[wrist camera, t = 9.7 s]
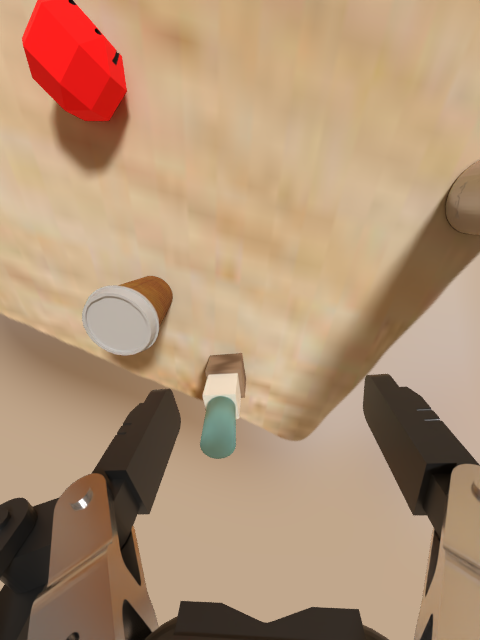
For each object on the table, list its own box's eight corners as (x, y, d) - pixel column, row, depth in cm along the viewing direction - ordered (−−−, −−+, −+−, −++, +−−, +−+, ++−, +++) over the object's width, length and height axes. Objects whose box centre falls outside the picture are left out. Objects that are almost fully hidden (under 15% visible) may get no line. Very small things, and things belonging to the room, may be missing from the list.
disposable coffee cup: (159, 329, 43) (127, 370, 33) (115, 293, 41) (64, 324, 30) (193, 295, 40) (170, 327, 29) (147, 253, 38) (103, 271, 27)
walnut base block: (242, 353, 45) (240, 369, 40) (245, 379, 47) (244, 397, 42) (210, 355, 45) (205, 371, 41) (215, 381, 48) (211, 399, 43)
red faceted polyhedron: (144, 82, 29) (110, 43, 22) (109, 140, 32) (68, 121, 25) (87, 16, 27) (29, -49, 20) (54, 84, 30) (-7, 46, 23)
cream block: (237, 373, 40) (235, 394, 36) (240, 396, 42) (239, 418, 38) (208, 374, 41) (202, 395, 36) (212, 397, 43) (207, 419, 38)
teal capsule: (228, 391, 36) (226, 425, 29) (240, 414, 37) (241, 451, 30) (201, 402, 36) (194, 437, 30) (214, 424, 38) (209, 463, 31)
